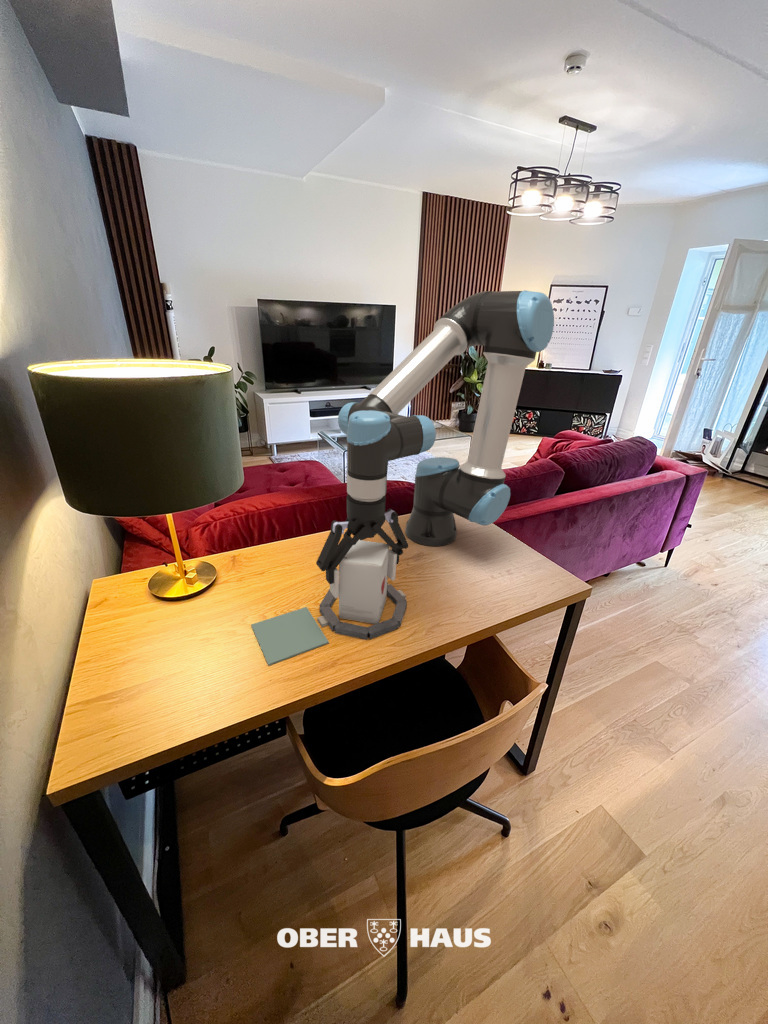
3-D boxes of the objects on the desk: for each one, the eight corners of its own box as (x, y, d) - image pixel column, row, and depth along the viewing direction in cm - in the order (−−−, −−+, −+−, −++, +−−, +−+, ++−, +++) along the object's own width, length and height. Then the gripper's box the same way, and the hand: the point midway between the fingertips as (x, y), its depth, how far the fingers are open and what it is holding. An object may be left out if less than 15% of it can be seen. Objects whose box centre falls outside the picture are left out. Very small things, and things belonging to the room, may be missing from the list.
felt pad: (306, 608, 90) (306, 606, 90) (328, 643, 81) (328, 641, 81) (251, 626, 84) (251, 624, 84) (268, 665, 75) (268, 664, 75)
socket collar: (383, 575, 102) (383, 570, 102) (425, 618, 89) (426, 612, 88) (304, 599, 92) (303, 594, 92) (338, 652, 79) (338, 646, 78)
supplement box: (379, 626, 86) (381, 566, 79) (338, 618, 87) (337, 559, 81) (387, 599, 94) (390, 543, 87) (349, 593, 95) (350, 537, 89)
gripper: (409, 478, 87) (402, 562, 96) (297, 497, 75) (301, 591, 84) (430, 490, 81) (421, 579, 91) (312, 514, 70) (315, 613, 79)
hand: (363, 585), depth 88 cm, fingers open, 13 cm apart
